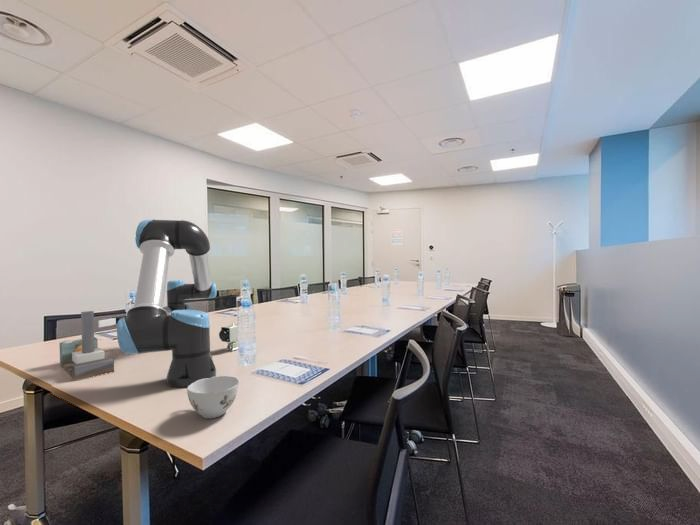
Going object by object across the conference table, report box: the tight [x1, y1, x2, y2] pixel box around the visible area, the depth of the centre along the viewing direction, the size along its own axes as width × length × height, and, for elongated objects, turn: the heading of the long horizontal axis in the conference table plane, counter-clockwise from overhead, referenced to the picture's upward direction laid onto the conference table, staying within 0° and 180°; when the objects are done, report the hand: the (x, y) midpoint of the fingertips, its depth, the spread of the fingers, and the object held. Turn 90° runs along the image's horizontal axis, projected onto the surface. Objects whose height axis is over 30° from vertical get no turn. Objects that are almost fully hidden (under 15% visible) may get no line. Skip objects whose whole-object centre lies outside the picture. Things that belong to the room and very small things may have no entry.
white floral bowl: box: [186, 375, 240, 419], centre depth 86 cm, size 15×12×8 cm
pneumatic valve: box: [218, 322, 239, 352], centre depth 146 cm, size 6×12×12 cm, turn 150°
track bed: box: [59, 336, 115, 382], centre depth 123 cm, size 27×11×9 cm, turn 50°
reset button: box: [75, 345, 82, 352], centre depth 129 cm, size 7×4×4 cm, turn 50°
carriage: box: [72, 310, 106, 364], centre depth 121 cm, size 8×8×20 cm
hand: (110, 325), depth 128 cm, fingers open, 13 cm apart
